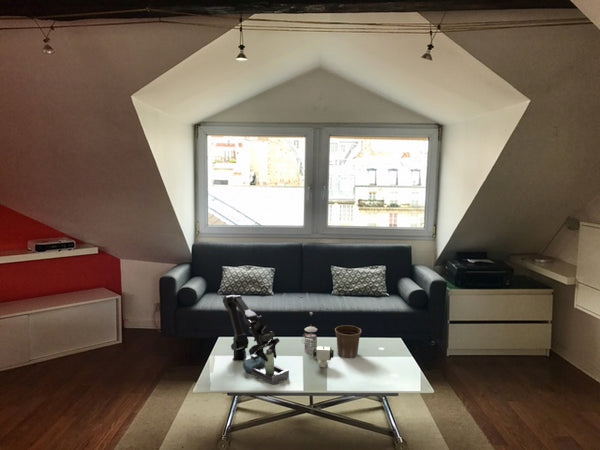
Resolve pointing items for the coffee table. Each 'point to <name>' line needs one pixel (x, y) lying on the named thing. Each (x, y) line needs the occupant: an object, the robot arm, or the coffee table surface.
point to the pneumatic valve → (323, 355)
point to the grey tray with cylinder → (258, 370)
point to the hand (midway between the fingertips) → (271, 359)
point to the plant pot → (347, 341)
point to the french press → (313, 342)
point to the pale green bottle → (269, 362)
